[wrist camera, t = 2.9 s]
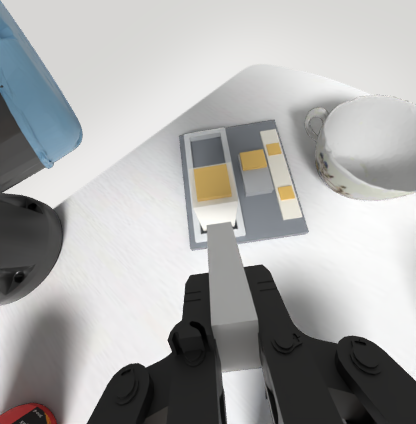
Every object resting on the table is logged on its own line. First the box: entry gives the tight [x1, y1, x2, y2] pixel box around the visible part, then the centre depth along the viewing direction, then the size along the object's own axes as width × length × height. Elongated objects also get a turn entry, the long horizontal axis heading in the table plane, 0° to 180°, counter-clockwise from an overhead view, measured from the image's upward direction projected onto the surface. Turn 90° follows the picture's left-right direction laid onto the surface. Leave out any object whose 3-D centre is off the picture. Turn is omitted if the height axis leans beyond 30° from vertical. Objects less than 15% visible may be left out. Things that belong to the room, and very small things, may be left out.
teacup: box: [305, 95, 416, 201], centre depth 25 cm, size 15×12×8 cm
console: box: [179, 120, 309, 251], centre depth 28 cm, size 15×18×3 cm
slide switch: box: [189, 162, 238, 232], centre depth 22 cm, size 4×4×10 cm
